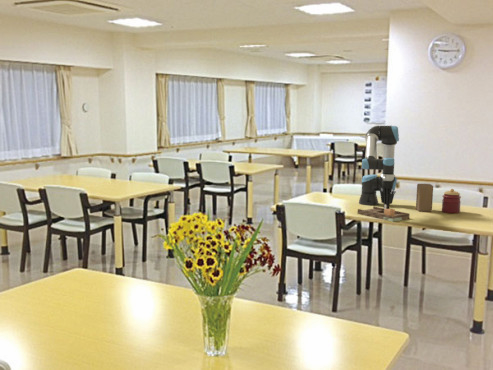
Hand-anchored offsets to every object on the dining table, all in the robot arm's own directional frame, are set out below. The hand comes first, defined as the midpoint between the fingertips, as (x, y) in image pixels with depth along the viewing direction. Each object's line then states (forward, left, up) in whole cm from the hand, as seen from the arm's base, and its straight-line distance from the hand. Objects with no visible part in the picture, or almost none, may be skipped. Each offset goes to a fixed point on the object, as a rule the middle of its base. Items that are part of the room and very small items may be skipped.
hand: (386, 213), depth 372 cm
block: (-2, +46, -4) cm, 47 cm away
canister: (+13, +58, -4) cm, 60 cm away
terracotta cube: (+3, 0, -2) cm, 4 cm away
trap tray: (-6, +4, -4) cm, 8 cm away
